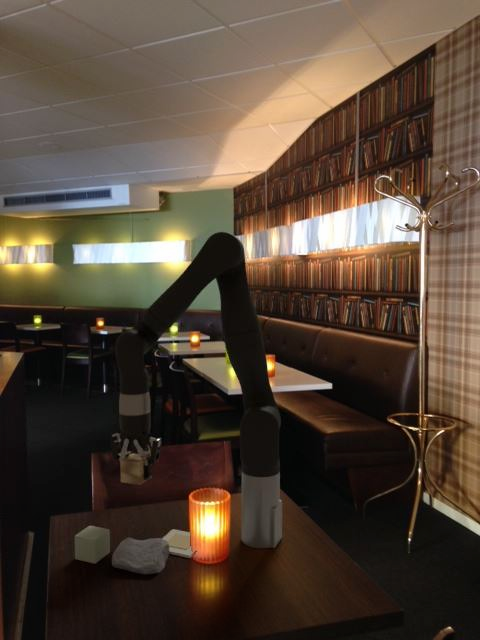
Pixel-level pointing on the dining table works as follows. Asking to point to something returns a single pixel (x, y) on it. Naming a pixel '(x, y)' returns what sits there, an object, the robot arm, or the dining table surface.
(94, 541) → the sage green cube
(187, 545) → the card
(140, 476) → the maple cube
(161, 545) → the stone block
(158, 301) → the robot arm
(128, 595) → the dining table surface
